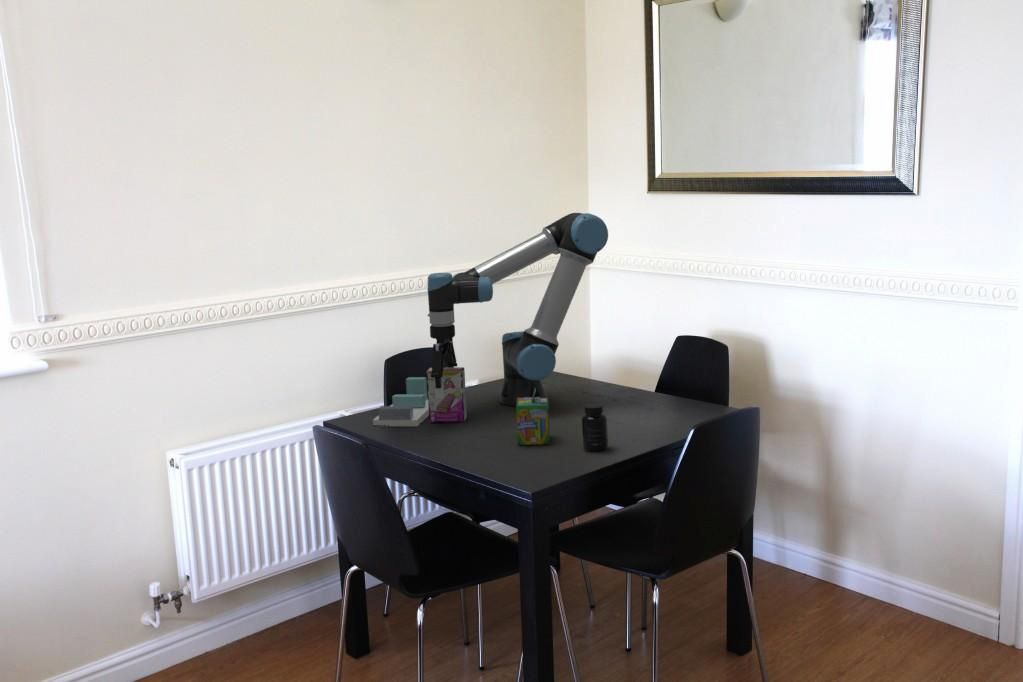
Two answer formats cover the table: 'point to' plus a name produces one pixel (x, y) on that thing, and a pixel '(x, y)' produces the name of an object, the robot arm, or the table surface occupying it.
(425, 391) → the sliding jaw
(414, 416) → the base
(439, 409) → the candy bar box
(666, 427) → the table surface
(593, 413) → the supplement bottle
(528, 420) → the chalk box
